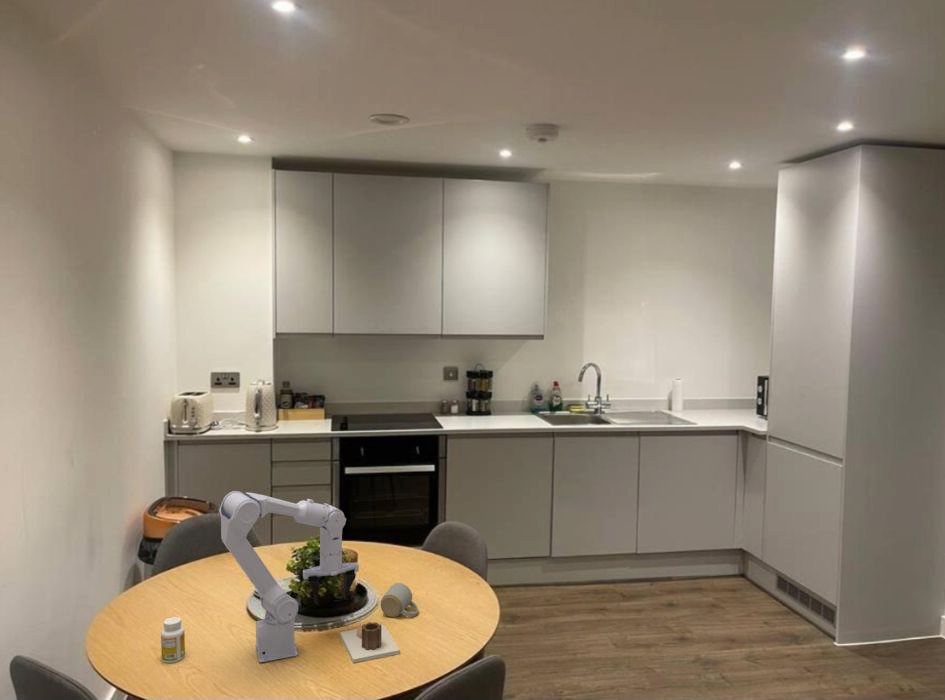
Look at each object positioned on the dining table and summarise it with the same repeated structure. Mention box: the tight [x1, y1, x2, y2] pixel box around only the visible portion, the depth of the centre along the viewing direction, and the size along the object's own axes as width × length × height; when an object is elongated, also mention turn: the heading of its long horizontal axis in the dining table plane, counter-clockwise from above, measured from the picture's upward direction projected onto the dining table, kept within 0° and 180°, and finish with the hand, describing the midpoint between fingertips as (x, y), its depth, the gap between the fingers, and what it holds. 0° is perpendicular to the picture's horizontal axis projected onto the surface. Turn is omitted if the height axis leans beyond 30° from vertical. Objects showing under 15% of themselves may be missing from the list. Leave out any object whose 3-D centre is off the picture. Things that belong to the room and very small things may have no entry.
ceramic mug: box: [380, 582, 419, 618], centre depth 197 cm, size 10×8×7 cm
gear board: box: [339, 623, 401, 664], centre depth 179 cm, size 12×15×4 cm
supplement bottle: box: [160, 616, 186, 664], centre depth 172 cm, size 5×5×10 cm
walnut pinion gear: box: [361, 622, 381, 650], centre depth 177 cm, size 5×5×5 cm
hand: (331, 600), depth 184 cm, fingers open, 7 cm apart
